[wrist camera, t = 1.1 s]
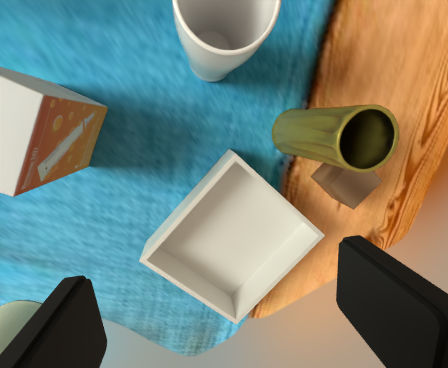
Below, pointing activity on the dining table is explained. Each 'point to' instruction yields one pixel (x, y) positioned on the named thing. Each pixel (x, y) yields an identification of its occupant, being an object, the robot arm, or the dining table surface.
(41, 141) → the small box
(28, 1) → the dining table surface
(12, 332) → the can
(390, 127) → the vase
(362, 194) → the walnut cube
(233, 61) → the drinking glass
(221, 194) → the box
